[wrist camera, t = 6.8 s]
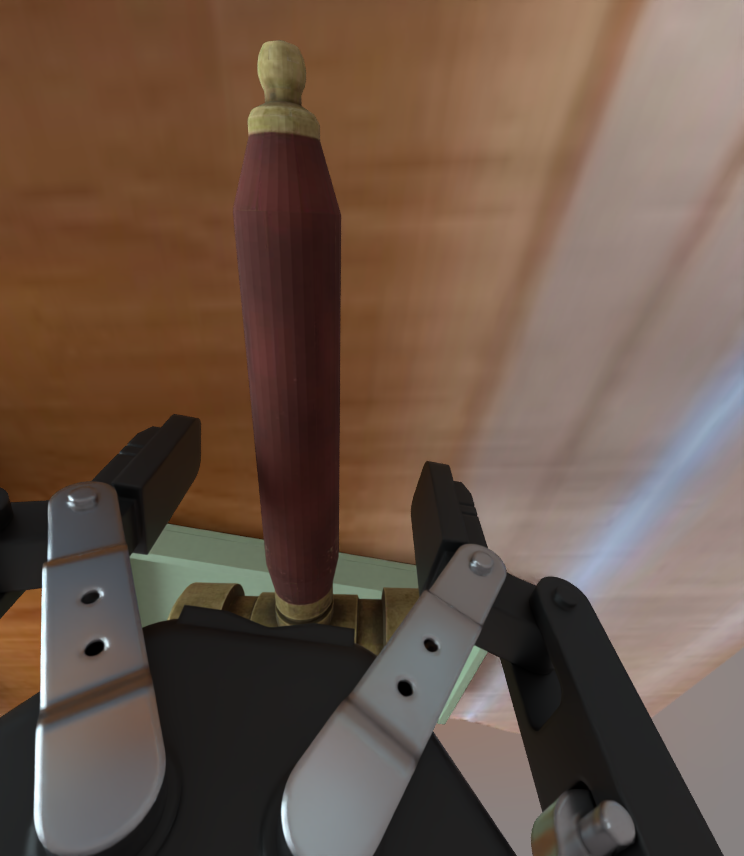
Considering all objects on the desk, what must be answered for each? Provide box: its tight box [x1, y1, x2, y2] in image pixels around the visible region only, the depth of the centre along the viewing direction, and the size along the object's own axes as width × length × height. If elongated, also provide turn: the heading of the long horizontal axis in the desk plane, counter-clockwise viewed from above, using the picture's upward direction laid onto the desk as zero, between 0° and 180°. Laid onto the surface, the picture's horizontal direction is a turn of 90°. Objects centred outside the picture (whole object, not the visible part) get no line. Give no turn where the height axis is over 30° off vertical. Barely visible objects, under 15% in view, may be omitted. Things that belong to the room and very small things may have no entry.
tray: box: [130, 524, 487, 724], centre depth 31 cm, size 26×15×3 cm, turn 78°
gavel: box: [167, 40, 419, 656], centre depth 13 cm, size 21×5×10 cm
